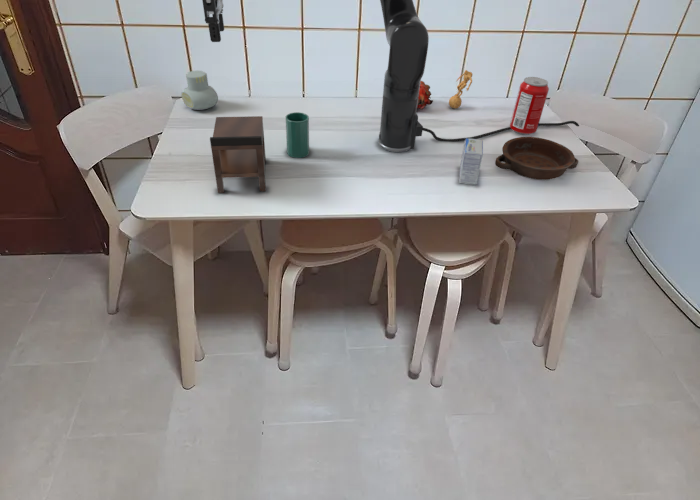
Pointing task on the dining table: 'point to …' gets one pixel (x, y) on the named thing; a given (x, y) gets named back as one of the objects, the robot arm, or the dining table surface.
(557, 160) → the dish
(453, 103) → the figurine
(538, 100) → the soda can
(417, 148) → the dining table surface
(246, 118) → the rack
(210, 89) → the air freshener
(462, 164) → the medicine box
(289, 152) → the tumbler
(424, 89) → the dragon fruit
